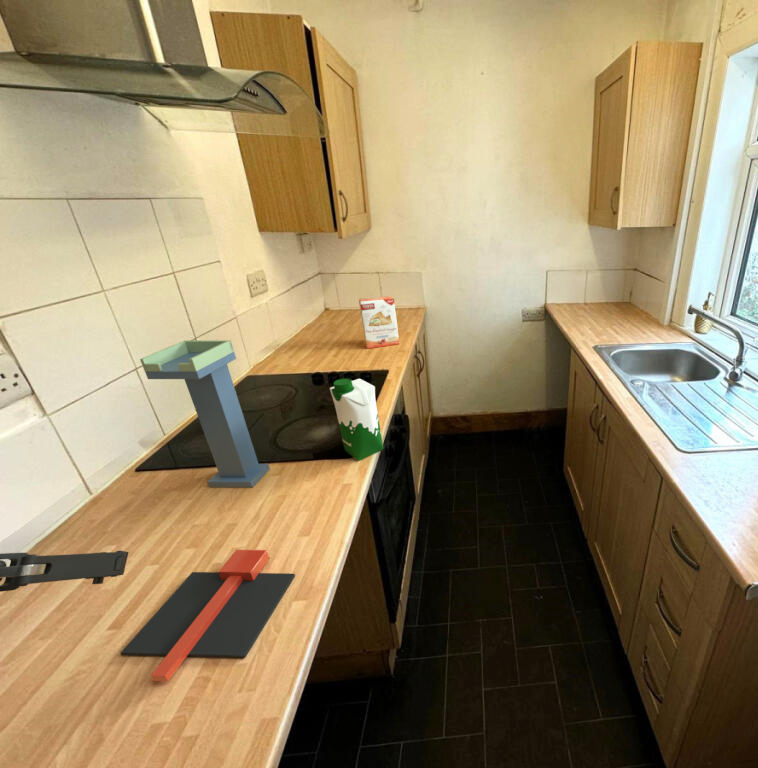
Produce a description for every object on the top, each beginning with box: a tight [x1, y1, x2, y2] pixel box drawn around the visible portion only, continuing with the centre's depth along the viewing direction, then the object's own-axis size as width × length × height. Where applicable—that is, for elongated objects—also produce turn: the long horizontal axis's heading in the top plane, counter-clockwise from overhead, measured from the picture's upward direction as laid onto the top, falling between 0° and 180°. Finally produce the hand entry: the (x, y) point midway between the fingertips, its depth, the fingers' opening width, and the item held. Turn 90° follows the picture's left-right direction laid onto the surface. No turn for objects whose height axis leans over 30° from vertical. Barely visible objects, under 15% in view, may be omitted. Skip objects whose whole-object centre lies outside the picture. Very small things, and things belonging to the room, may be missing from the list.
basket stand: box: [139, 339, 271, 489], centre depth 88 cm, size 10×11×32 cm
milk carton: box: [329, 378, 384, 462], centre depth 103 cm, size 9×9×20 cm
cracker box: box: [358, 295, 400, 349], centre depth 180 cm, size 14×6×21 cm, turn 115°
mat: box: [120, 571, 296, 659], centre depth 65 cm, size 18×14×1 cm
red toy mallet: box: [150, 549, 270, 683], centre depth 64 cm, size 6×21×2 cm, turn 178°
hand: (52, 568), depth 51 cm, fingers open, 13 cm apart
